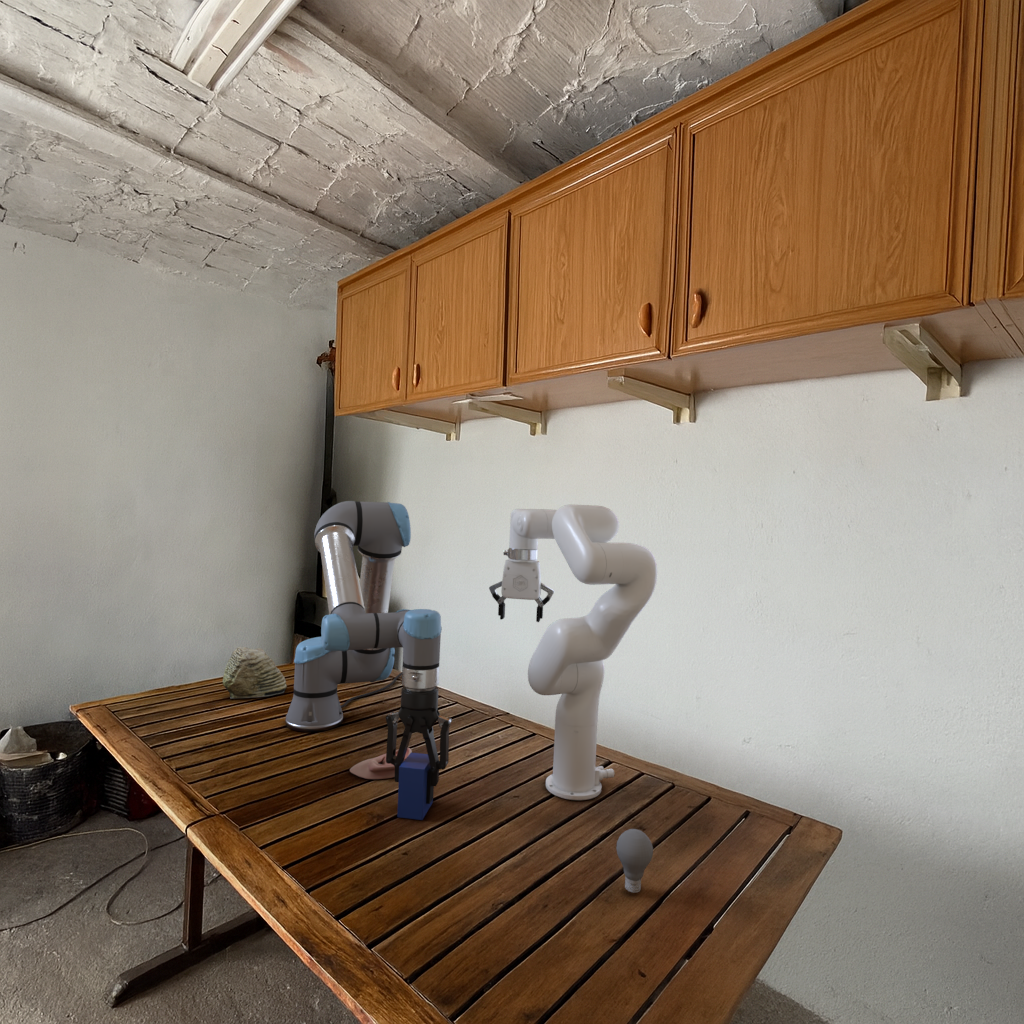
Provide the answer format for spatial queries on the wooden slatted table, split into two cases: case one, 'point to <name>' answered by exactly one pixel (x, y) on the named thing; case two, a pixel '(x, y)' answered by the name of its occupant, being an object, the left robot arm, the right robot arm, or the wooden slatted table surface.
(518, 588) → the right robot arm
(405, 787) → the brick
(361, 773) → the anatomical model
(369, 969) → the wooden slatted table surface
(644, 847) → the light bulb
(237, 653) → the fossil
